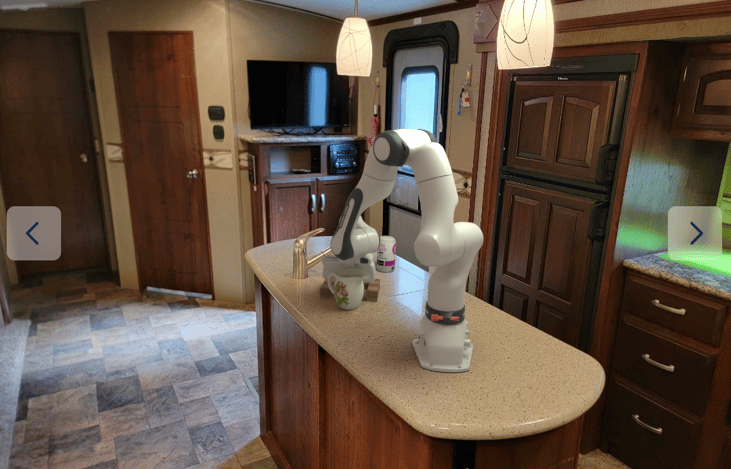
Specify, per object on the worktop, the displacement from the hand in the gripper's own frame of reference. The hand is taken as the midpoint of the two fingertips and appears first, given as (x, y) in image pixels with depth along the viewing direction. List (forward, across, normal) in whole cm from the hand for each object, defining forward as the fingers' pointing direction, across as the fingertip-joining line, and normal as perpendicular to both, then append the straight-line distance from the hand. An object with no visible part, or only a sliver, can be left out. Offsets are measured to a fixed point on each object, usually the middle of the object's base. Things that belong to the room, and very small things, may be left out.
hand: (348, 290), depth 185 cm
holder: (+4, 0, +6) cm, 8 cm away
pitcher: (+4, 0, -6) cm, 7 cm away
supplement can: (+4, +12, +37) cm, 39 cm away
